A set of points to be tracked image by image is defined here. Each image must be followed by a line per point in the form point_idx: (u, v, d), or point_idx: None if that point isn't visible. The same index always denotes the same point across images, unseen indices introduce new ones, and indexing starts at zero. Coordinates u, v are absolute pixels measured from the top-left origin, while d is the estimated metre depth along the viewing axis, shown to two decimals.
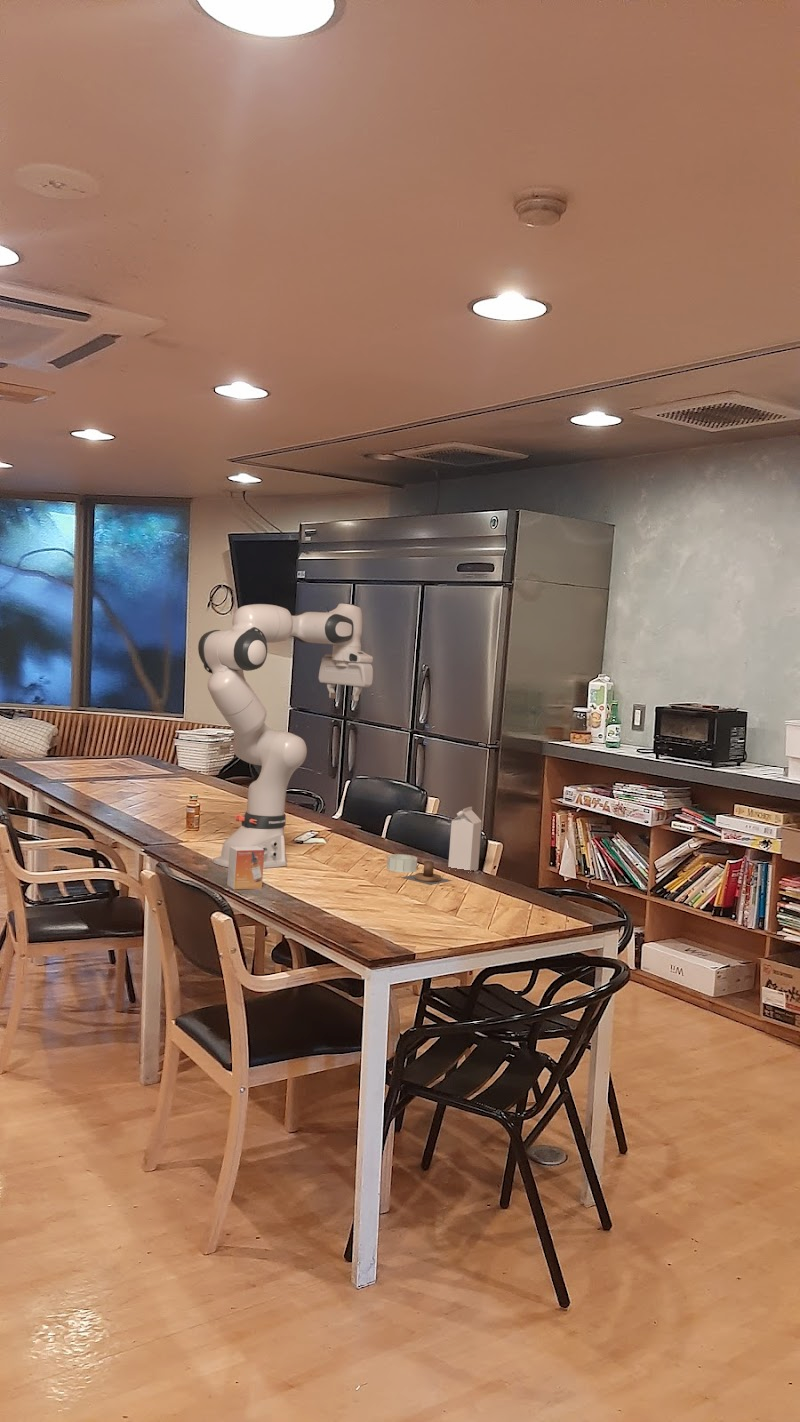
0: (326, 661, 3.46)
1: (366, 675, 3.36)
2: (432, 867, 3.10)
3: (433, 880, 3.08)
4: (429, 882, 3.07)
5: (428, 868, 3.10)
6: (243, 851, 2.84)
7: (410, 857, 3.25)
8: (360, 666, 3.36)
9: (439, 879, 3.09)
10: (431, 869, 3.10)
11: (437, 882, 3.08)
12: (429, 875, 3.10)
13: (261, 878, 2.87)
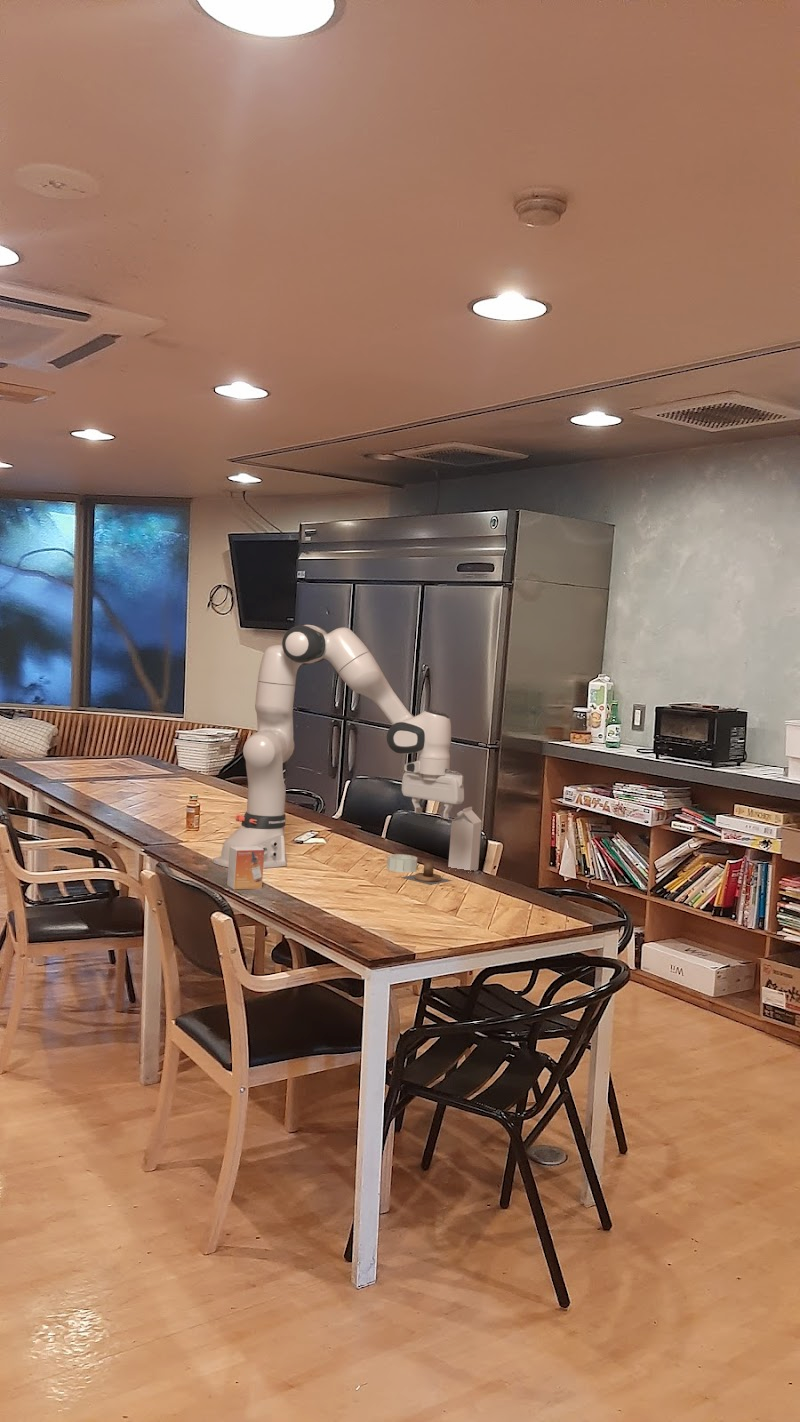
0: None
1: None
2: (432, 867, 3.10)
3: (433, 880, 3.08)
4: (429, 882, 3.07)
5: (428, 868, 3.10)
6: (243, 851, 2.84)
7: (410, 857, 3.25)
8: None
9: (439, 879, 3.09)
10: (431, 869, 3.10)
11: (437, 882, 3.08)
12: (429, 875, 3.10)
13: (261, 878, 2.87)
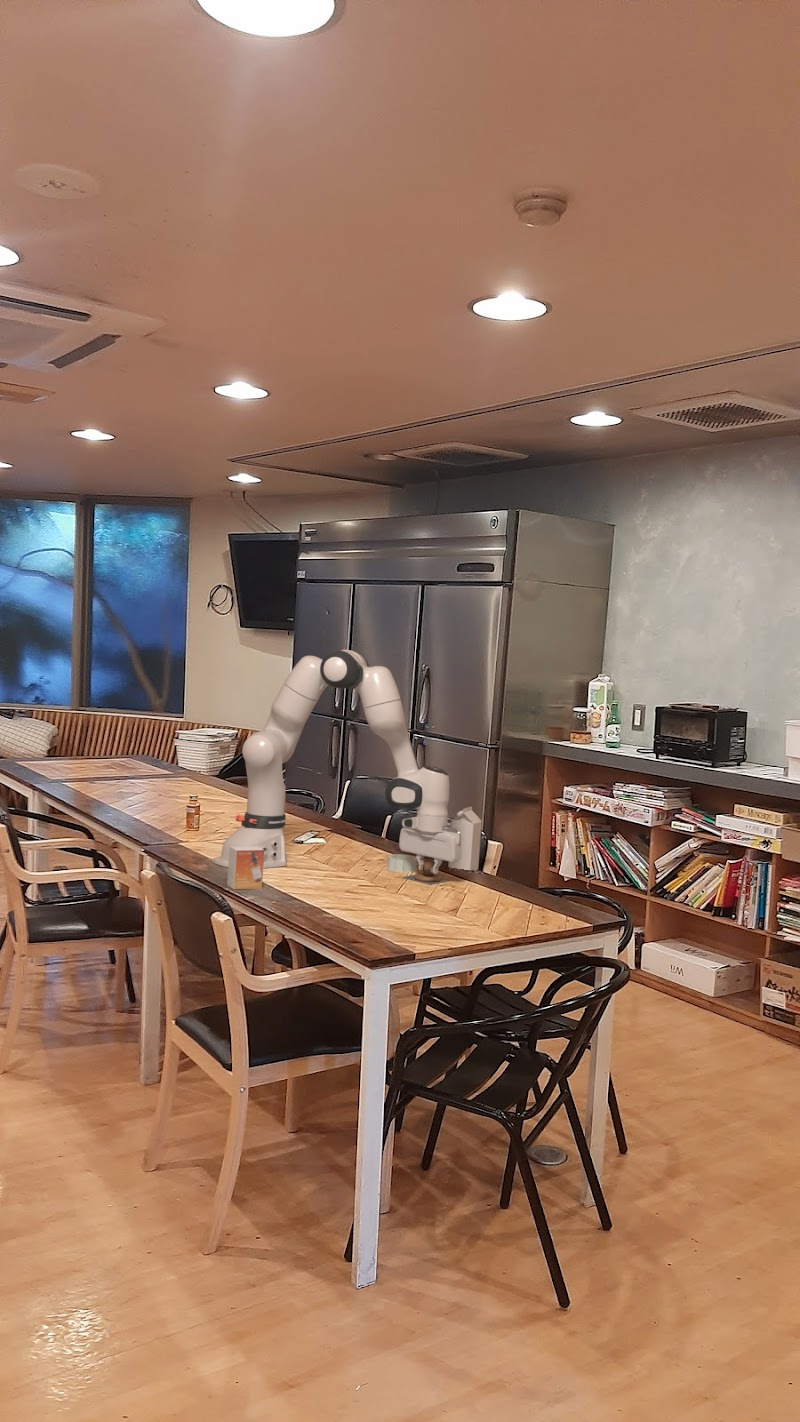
0: None
1: None
2: None
3: (433, 880, 3.08)
4: (429, 882, 3.07)
5: (428, 868, 3.10)
6: (243, 851, 2.84)
7: (410, 857, 3.25)
8: None
9: (439, 879, 3.09)
10: None
11: (437, 882, 3.08)
12: (429, 875, 3.10)
13: (261, 878, 2.87)
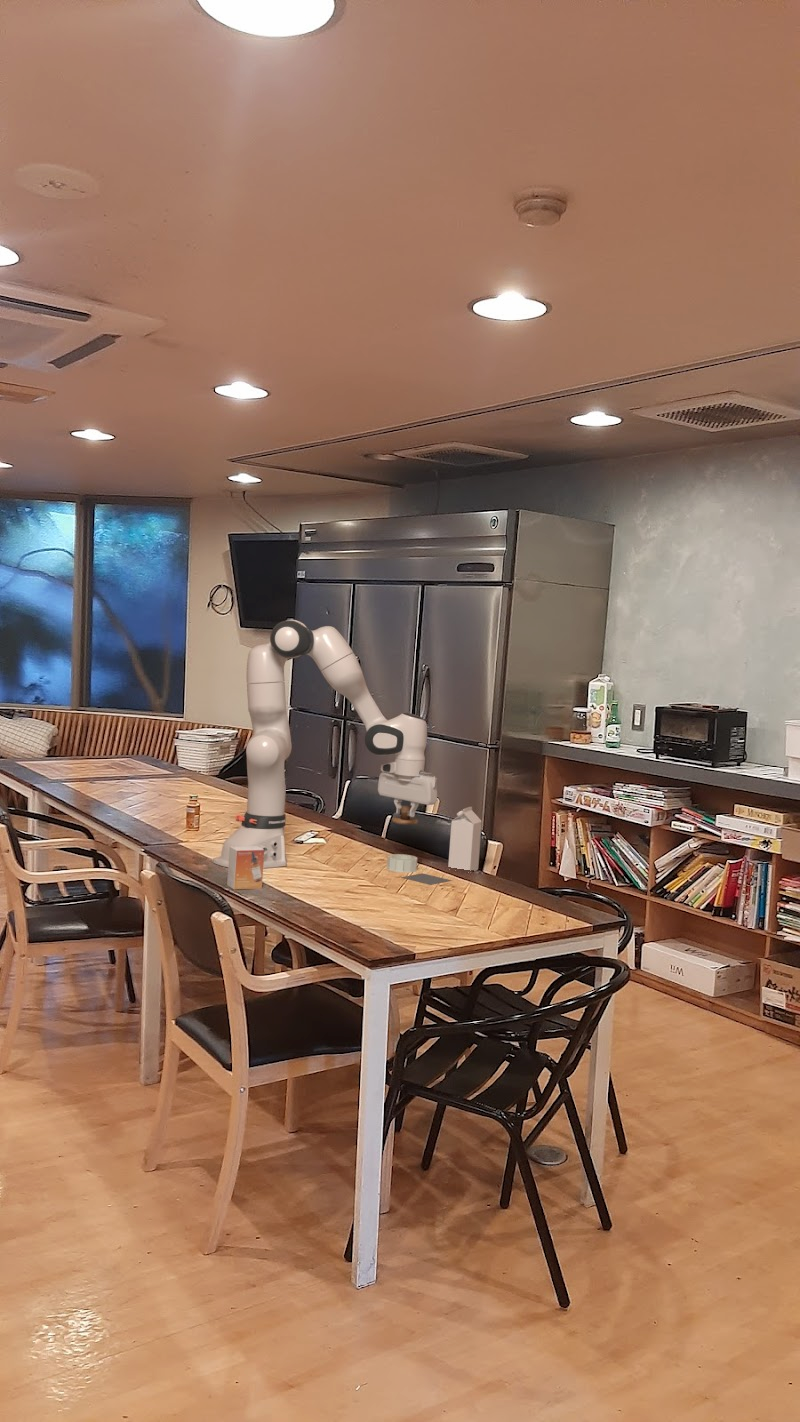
0: None
1: None
2: None
3: (409, 823, 3.18)
4: (429, 882, 3.07)
5: (405, 811, 3.20)
6: (243, 851, 2.84)
7: (410, 857, 3.25)
8: None
9: (415, 822, 3.19)
10: None
11: (437, 882, 3.08)
12: (406, 818, 3.20)
13: (261, 878, 2.87)
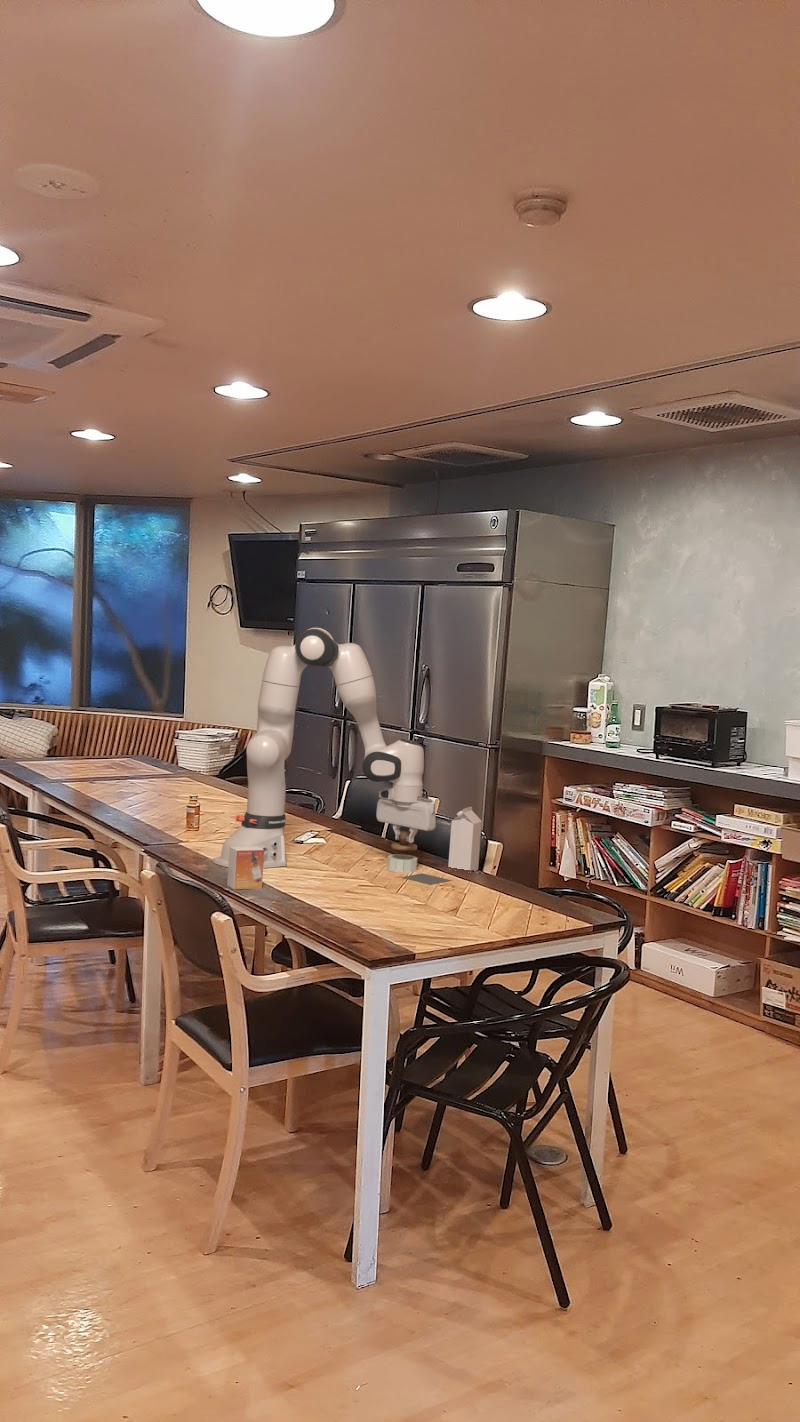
0: None
1: None
2: None
3: (409, 849, 3.19)
4: (429, 882, 3.07)
5: (404, 837, 3.21)
6: (243, 851, 2.84)
7: (410, 857, 3.25)
8: None
9: (415, 848, 3.20)
10: None
11: (437, 882, 3.08)
12: (405, 844, 3.21)
13: (261, 878, 2.87)
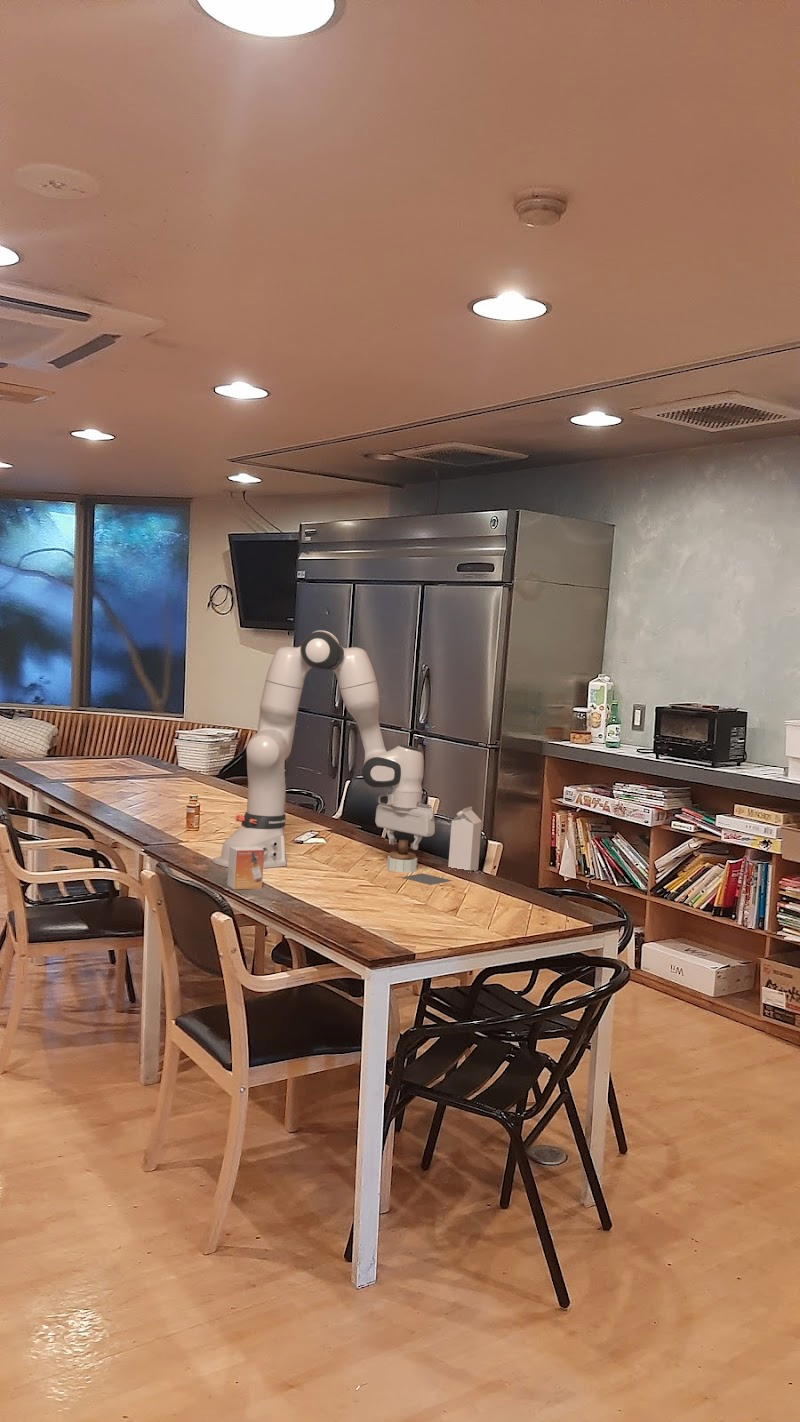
0: None
1: None
2: (407, 845, 3.21)
3: (407, 858, 3.19)
4: (429, 882, 3.07)
5: (403, 846, 3.21)
6: (243, 851, 2.84)
7: None
8: None
9: (413, 857, 3.21)
10: (406, 847, 3.21)
11: (437, 882, 3.08)
12: (404, 853, 3.21)
13: (261, 878, 2.87)
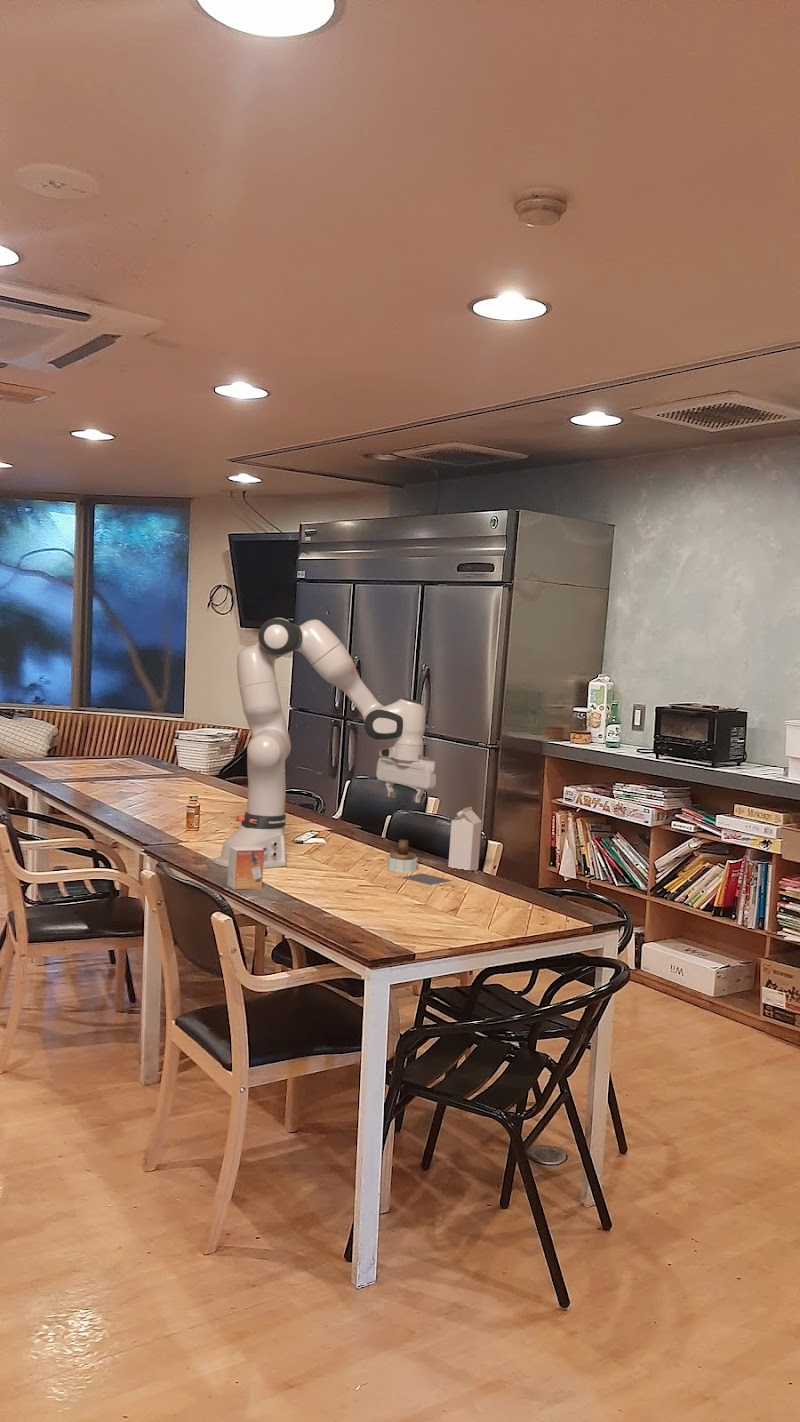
0: None
1: None
2: (407, 845, 3.21)
3: (407, 858, 3.19)
4: (429, 882, 3.07)
5: (403, 846, 3.21)
6: (243, 851, 2.84)
7: None
8: None
9: (413, 857, 3.21)
10: (406, 847, 3.21)
11: (437, 882, 3.08)
12: (404, 853, 3.21)
13: (261, 878, 2.87)
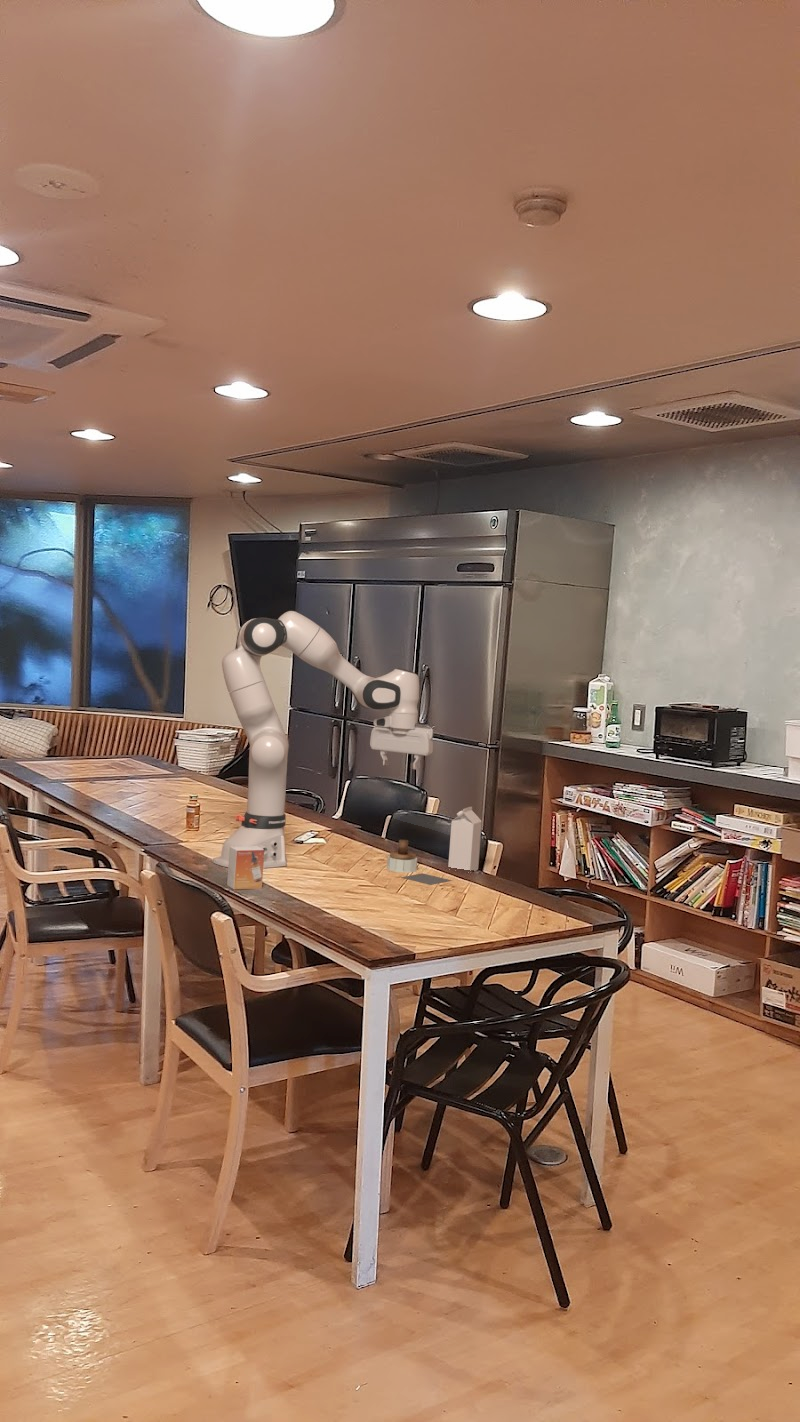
0: None
1: None
2: (407, 845, 3.21)
3: (407, 858, 3.19)
4: (429, 882, 3.07)
5: (403, 846, 3.21)
6: (243, 851, 2.84)
7: None
8: None
9: (413, 857, 3.21)
10: (406, 847, 3.21)
11: (437, 882, 3.08)
12: (404, 853, 3.21)
13: (261, 878, 2.87)
